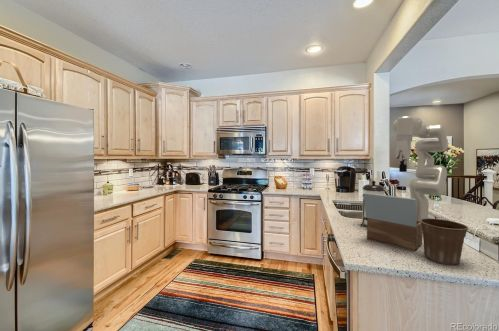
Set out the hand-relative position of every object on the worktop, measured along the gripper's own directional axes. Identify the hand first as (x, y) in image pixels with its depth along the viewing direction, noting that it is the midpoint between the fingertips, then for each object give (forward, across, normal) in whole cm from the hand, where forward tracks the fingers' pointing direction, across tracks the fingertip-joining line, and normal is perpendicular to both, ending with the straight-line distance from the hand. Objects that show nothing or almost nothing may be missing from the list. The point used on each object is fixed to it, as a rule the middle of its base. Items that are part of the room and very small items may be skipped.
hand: (402, 171), depth 129 cm
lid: (+18, +21, 0) cm, 28 cm away
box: (+37, +12, 0) cm, 39 cm away
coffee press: (+37, -8, -18) cm, 42 cm away
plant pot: (+37, +20, +21) cm, 47 cm away
